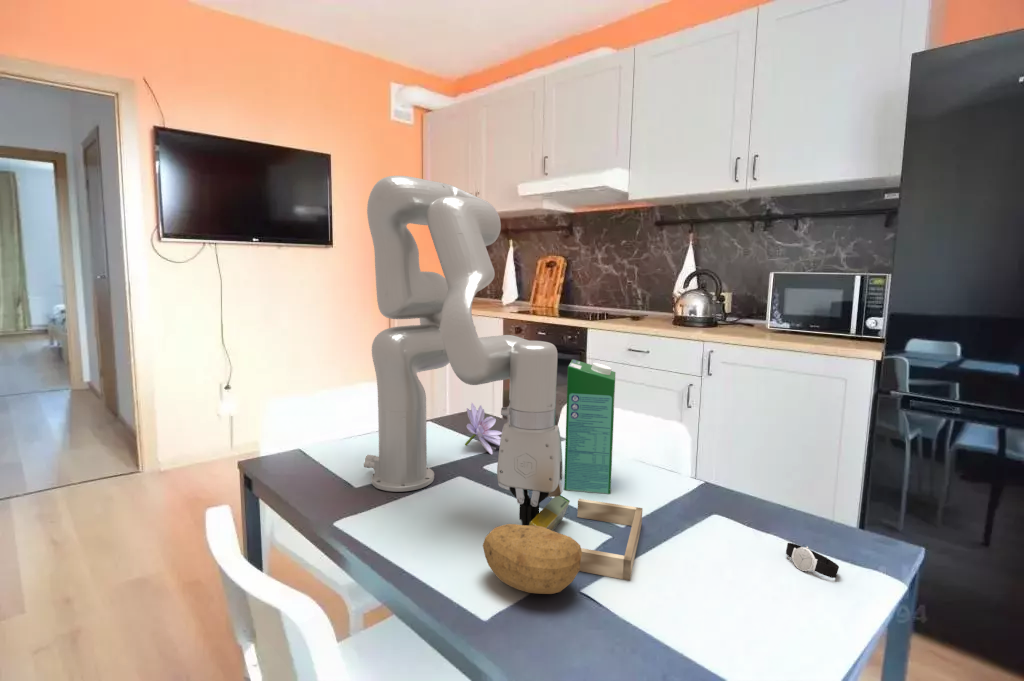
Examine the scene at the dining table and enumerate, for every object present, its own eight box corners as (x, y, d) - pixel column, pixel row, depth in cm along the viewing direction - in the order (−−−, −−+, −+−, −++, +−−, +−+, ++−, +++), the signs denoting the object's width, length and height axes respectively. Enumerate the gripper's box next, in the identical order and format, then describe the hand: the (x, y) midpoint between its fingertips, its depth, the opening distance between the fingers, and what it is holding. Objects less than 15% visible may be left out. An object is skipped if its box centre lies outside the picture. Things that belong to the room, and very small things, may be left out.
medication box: (549, 511, 95) (557, 492, 94) (562, 519, 94) (571, 500, 93) (521, 541, 84) (530, 520, 83) (535, 551, 83) (545, 530, 82)
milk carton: (610, 494, 105) (615, 368, 102) (564, 489, 107) (567, 365, 104) (611, 477, 114) (616, 360, 111) (568, 473, 116) (572, 358, 113)
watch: (777, 559, 83) (779, 536, 82) (798, 552, 84) (800, 530, 84) (824, 585, 76) (826, 561, 75) (846, 578, 78) (848, 554, 77)
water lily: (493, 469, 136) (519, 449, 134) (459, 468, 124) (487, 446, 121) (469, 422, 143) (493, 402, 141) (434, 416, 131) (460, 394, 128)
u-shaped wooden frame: (553, 566, 79) (554, 546, 79) (578, 514, 96) (579, 498, 96) (629, 580, 76) (630, 560, 75) (641, 524, 93) (642, 508, 92)
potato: (501, 557, 82) (502, 506, 80) (590, 581, 75) (592, 527, 74) (467, 590, 73) (468, 534, 72) (565, 621, 67) (567, 560, 66)
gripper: (480, 418, 86) (478, 527, 88) (572, 429, 81) (567, 543, 84) (496, 407, 93) (494, 508, 96) (582, 416, 88) (577, 522, 91)
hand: (528, 524), depth 90 cm, fingers closed
